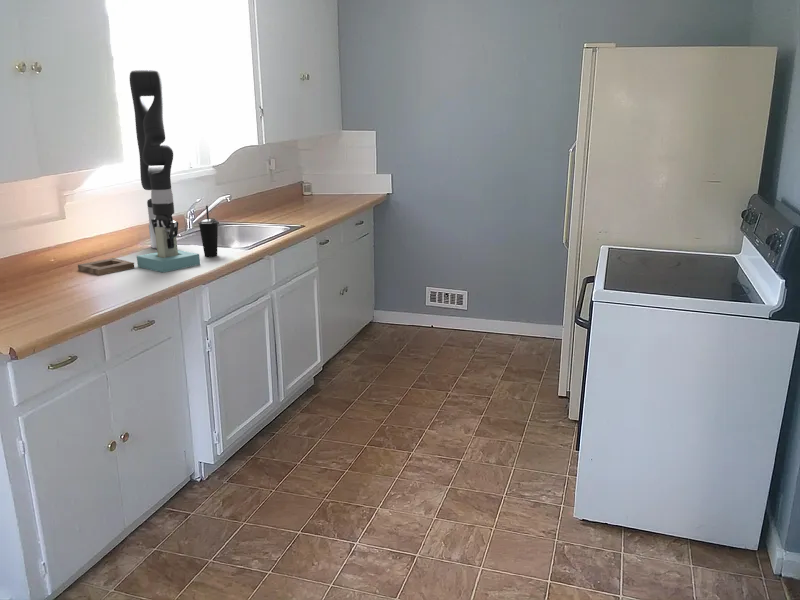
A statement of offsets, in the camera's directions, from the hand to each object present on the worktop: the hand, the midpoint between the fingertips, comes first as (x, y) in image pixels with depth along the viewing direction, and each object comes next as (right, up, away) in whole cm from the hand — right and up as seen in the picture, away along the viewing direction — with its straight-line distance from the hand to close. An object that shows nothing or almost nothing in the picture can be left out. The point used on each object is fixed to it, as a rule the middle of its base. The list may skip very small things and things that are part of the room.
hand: (167, 247), depth 259 cm
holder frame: (-21, -8, -3) cm, 23 cm away
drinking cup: (+12, -2, +18) cm, 21 cm away
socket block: (0, -7, +2) cm, 7 cm away
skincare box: (0, -4, +1) cm, 5 cm away
